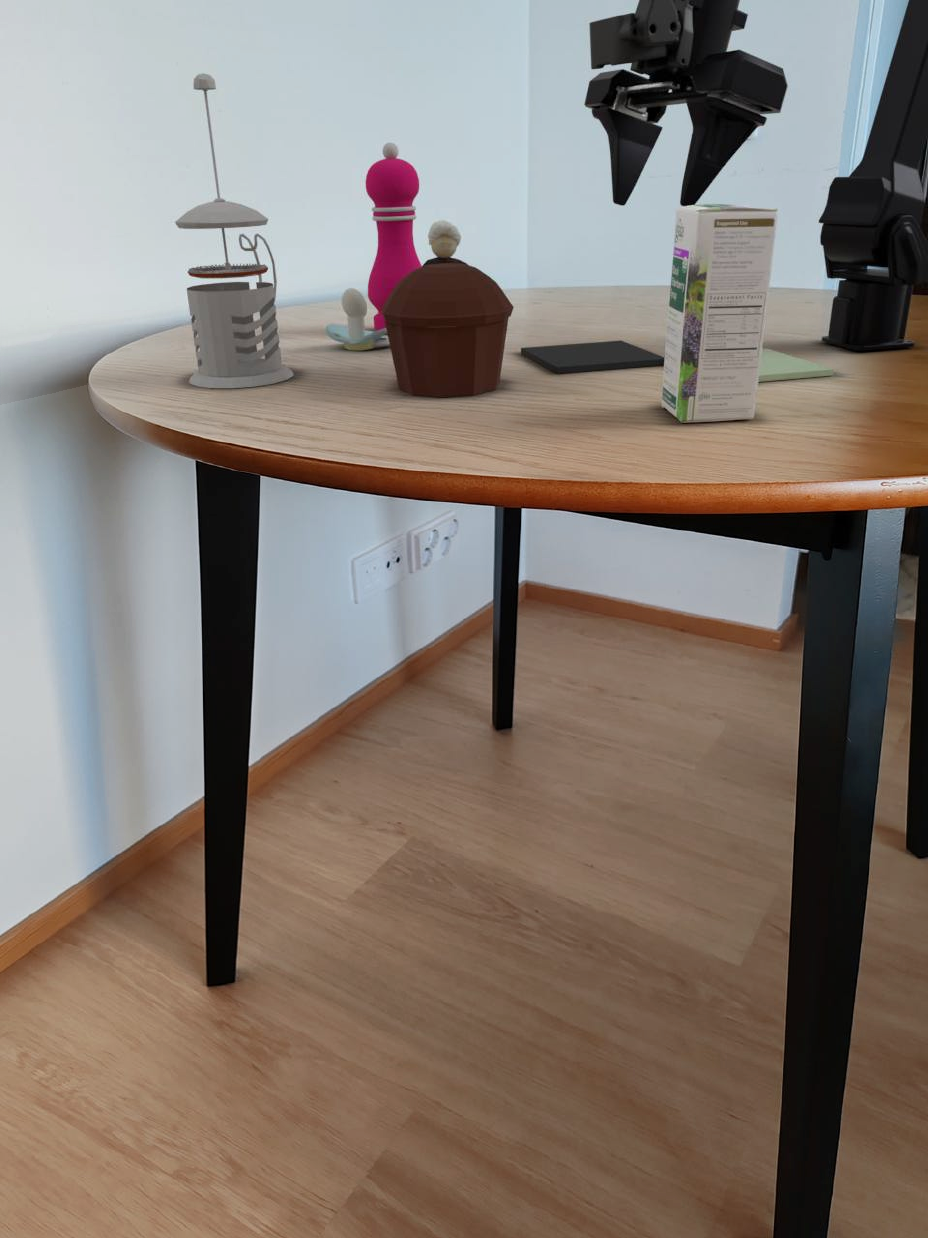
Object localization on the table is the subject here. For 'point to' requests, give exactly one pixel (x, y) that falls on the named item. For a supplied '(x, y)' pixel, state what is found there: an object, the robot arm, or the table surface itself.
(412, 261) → the pepper mill
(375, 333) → the pacifier
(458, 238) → the grandmother figurine
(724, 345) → the syrup box
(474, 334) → the muffin
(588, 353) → the charcoal mat
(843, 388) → the table surface
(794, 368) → the sage mat
